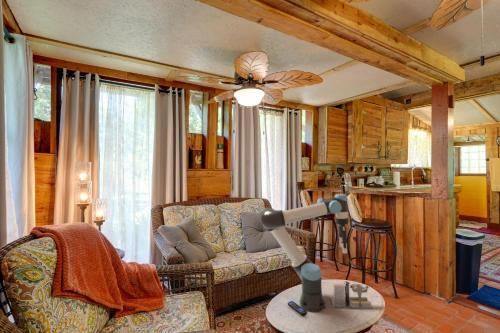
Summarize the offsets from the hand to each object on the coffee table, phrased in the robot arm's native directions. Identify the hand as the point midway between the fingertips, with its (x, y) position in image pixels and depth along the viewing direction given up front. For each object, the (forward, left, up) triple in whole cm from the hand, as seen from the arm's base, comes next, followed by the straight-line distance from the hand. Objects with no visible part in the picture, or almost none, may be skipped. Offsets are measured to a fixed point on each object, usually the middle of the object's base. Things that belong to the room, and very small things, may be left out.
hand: (343, 250), depth 178 cm
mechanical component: (+6, -14, -27) cm, 31 cm away
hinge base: (0, -14, -28) cm, 31 cm away
